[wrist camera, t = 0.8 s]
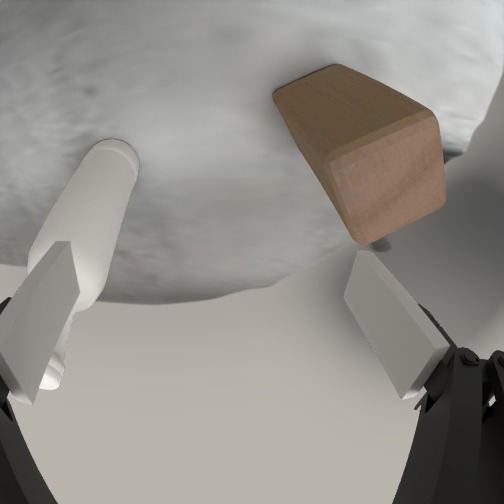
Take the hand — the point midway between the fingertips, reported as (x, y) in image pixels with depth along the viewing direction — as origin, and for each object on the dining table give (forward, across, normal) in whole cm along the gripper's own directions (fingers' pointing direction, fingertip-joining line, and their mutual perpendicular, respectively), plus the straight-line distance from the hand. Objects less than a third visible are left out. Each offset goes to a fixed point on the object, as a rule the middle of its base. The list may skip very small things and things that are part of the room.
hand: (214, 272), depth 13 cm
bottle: (+29, -13, -2) cm, 32 cm away
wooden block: (+28, +13, +8) cm, 32 cm away
